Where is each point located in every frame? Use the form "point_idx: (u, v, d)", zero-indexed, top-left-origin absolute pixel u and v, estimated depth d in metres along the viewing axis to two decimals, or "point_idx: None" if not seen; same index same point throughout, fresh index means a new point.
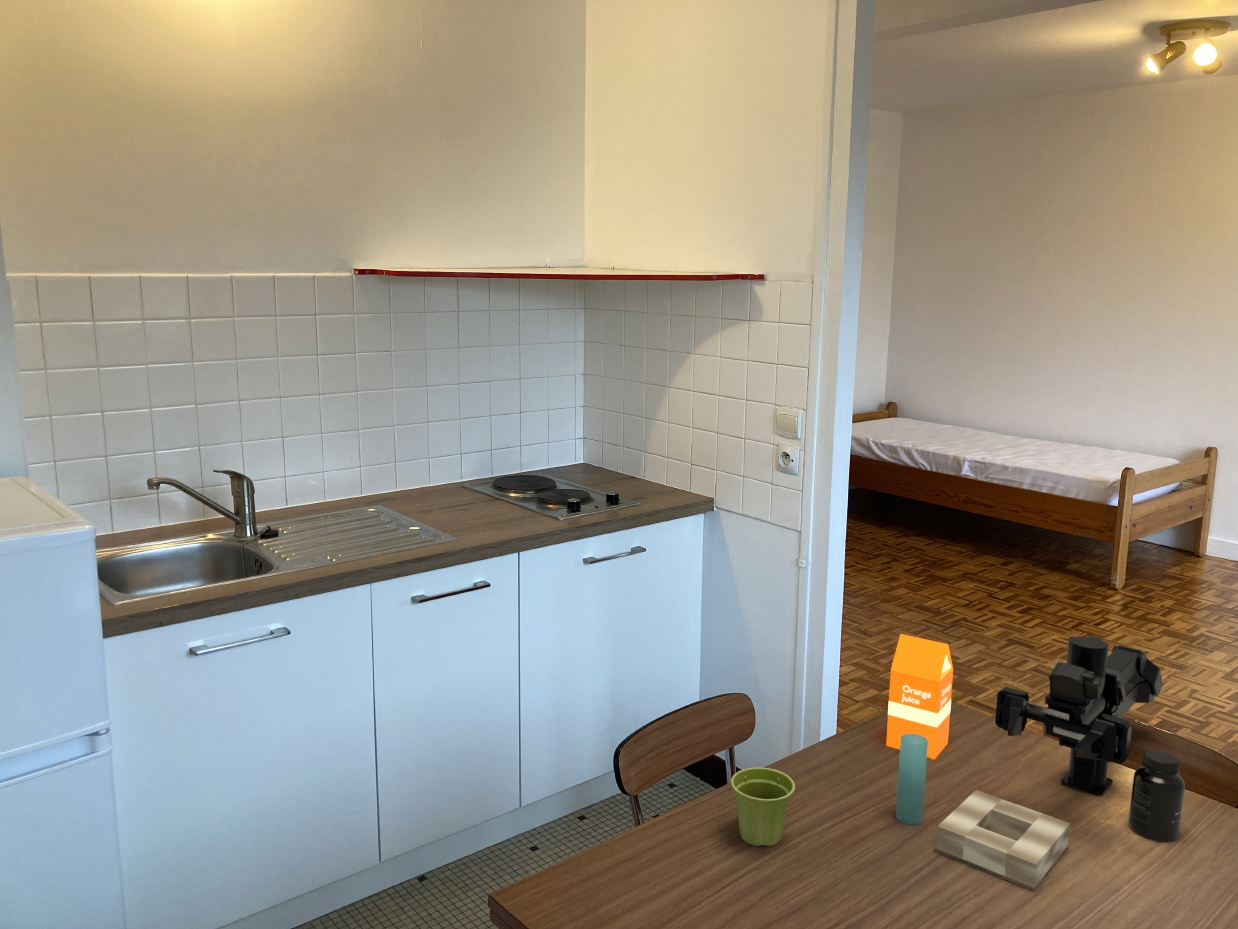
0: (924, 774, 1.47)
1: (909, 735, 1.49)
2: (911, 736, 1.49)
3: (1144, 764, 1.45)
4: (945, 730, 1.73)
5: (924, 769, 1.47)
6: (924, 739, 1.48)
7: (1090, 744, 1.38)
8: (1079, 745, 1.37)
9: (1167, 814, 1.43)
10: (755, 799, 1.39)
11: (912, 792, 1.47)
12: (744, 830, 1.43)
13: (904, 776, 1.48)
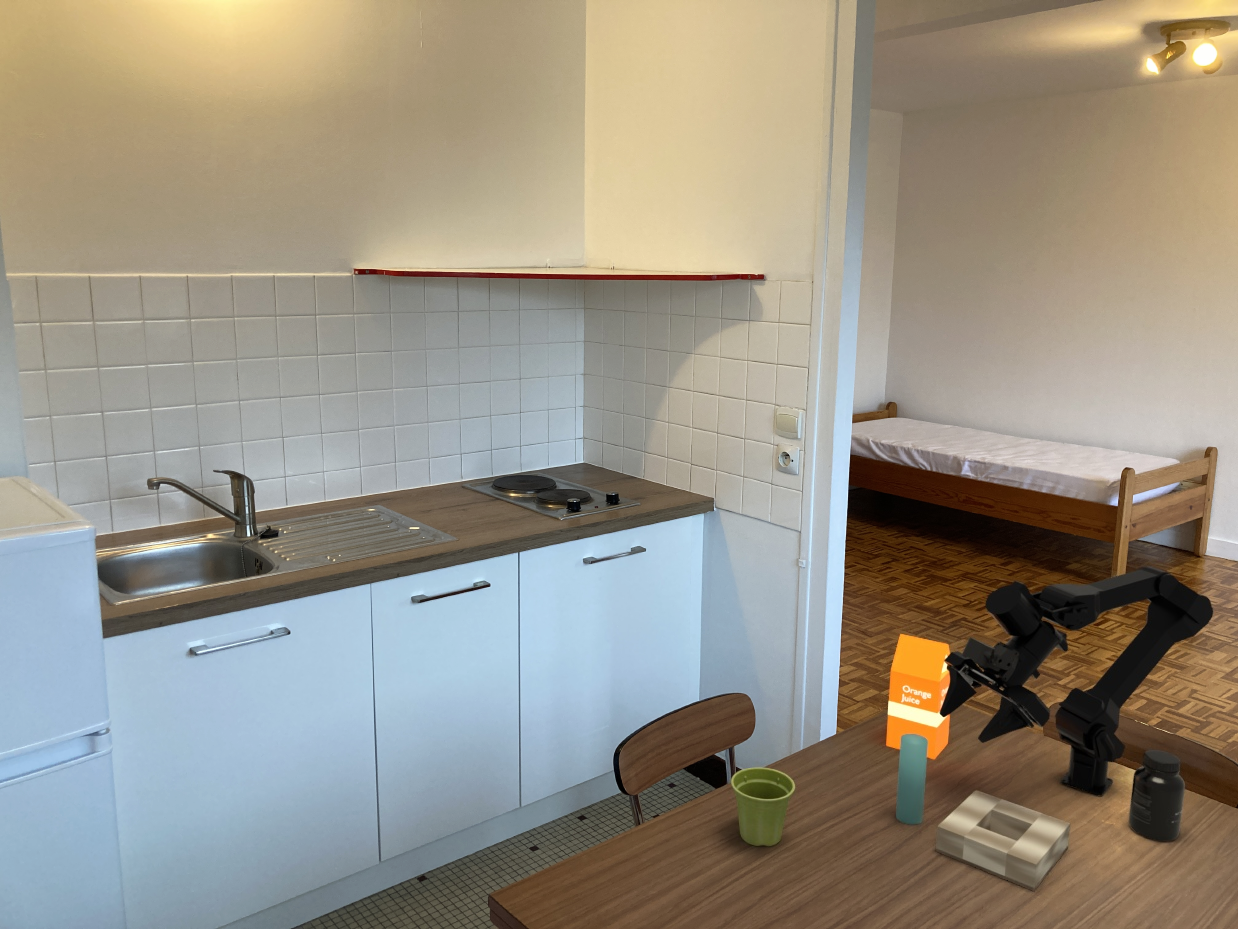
0: (924, 774, 1.47)
1: (909, 735, 1.49)
2: (911, 736, 1.49)
3: (1144, 764, 1.45)
4: (945, 730, 1.73)
5: (924, 769, 1.47)
6: (924, 739, 1.48)
7: (997, 725, 1.45)
8: (983, 732, 1.45)
9: (1167, 814, 1.43)
10: (755, 799, 1.39)
11: (912, 792, 1.47)
12: (744, 830, 1.43)
13: (904, 776, 1.48)
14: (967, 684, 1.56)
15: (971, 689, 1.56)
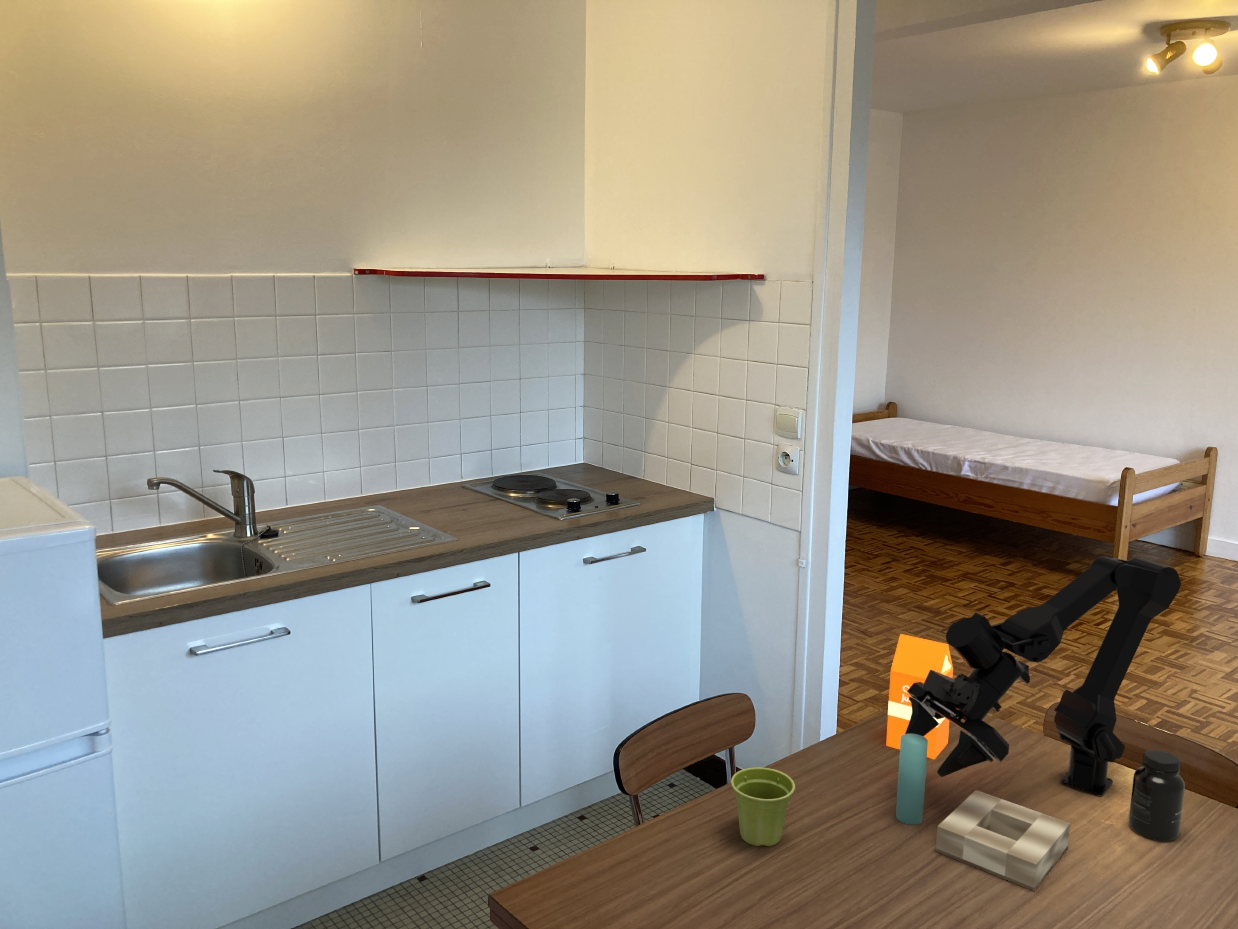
0: (924, 774, 1.47)
1: (909, 735, 1.49)
2: (911, 736, 1.49)
3: (1144, 764, 1.45)
4: (945, 730, 1.73)
5: (924, 769, 1.47)
6: (924, 739, 1.48)
7: (956, 760, 1.44)
8: (942, 766, 1.44)
9: (1167, 814, 1.43)
10: (755, 799, 1.39)
11: (912, 792, 1.47)
12: (744, 830, 1.43)
13: (904, 776, 1.48)
14: (929, 715, 1.54)
15: (933, 720, 1.55)
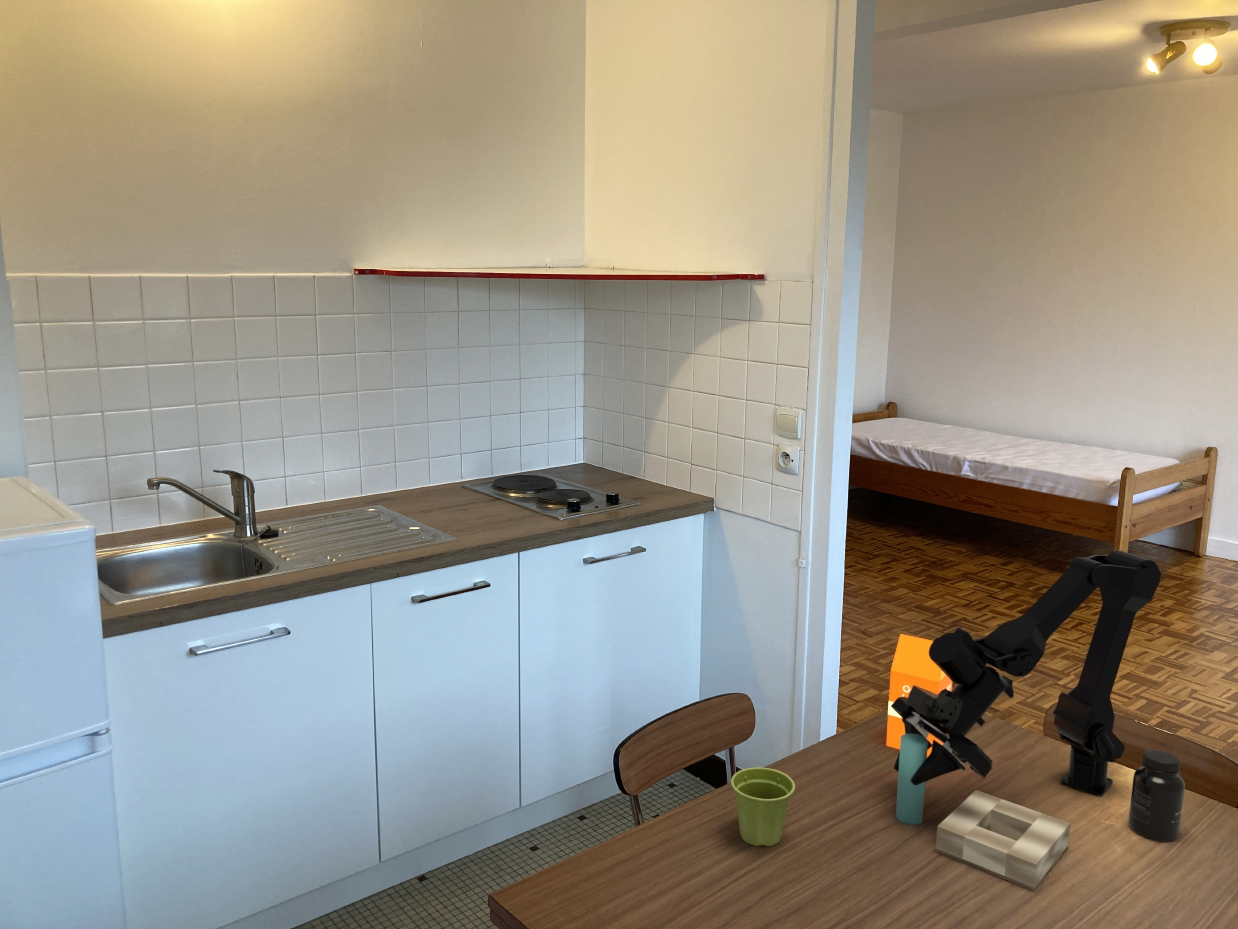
0: None
1: (909, 735, 1.49)
2: (911, 735, 1.49)
3: (1144, 764, 1.45)
4: None
5: None
6: (924, 739, 1.48)
7: (929, 768, 1.46)
8: (915, 775, 1.46)
9: (1167, 814, 1.43)
10: (755, 799, 1.39)
11: (912, 792, 1.47)
12: (743, 830, 1.43)
13: (904, 776, 1.48)
14: None
15: None
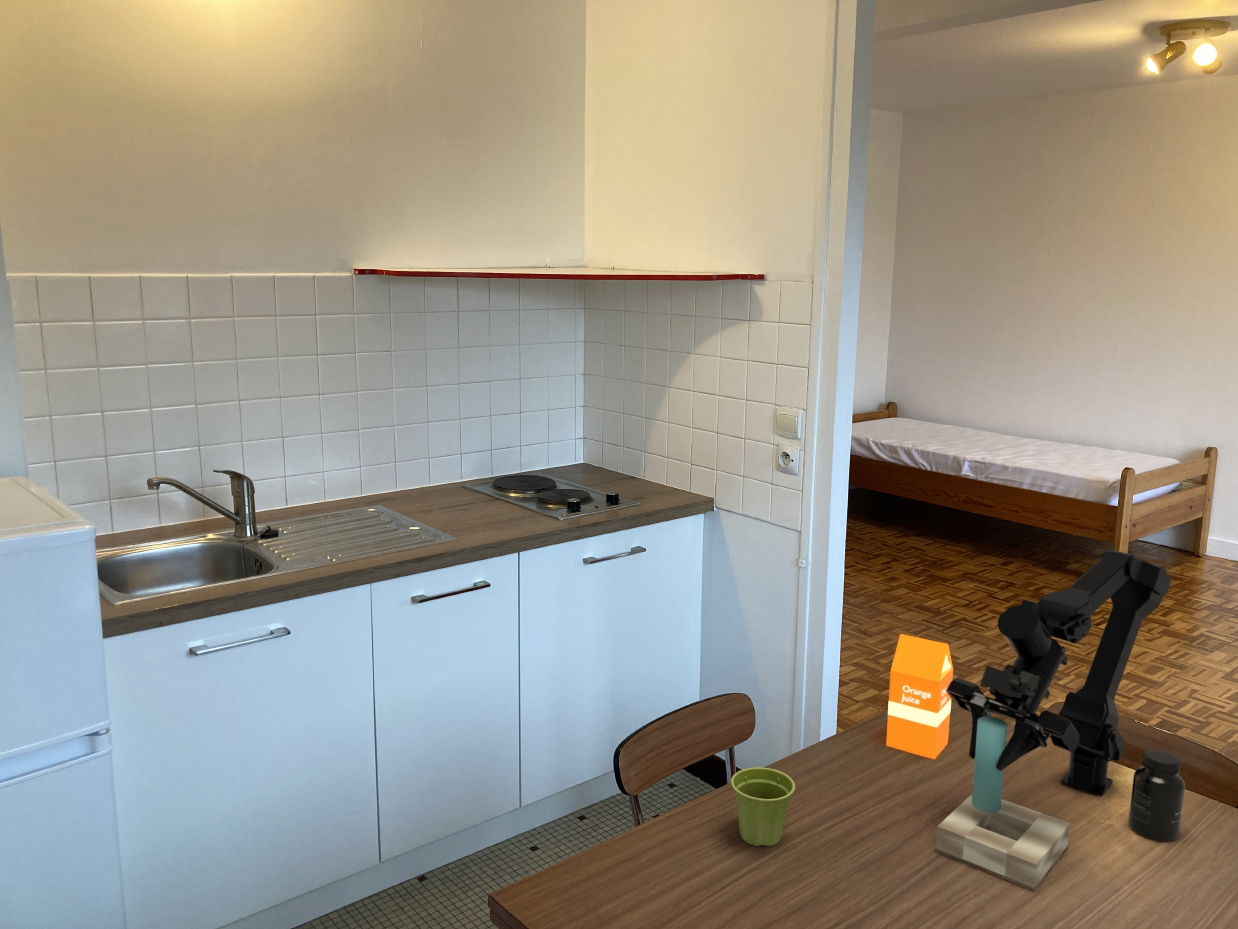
0: None
1: (984, 718, 1.41)
2: (986, 719, 1.41)
3: (1144, 764, 1.45)
4: (945, 730, 1.73)
5: None
6: (1001, 720, 1.40)
7: (1014, 751, 1.38)
8: (1001, 760, 1.38)
9: (1167, 814, 1.43)
10: (755, 799, 1.39)
11: (995, 778, 1.39)
12: (744, 830, 1.43)
13: (987, 763, 1.39)
14: None
15: None
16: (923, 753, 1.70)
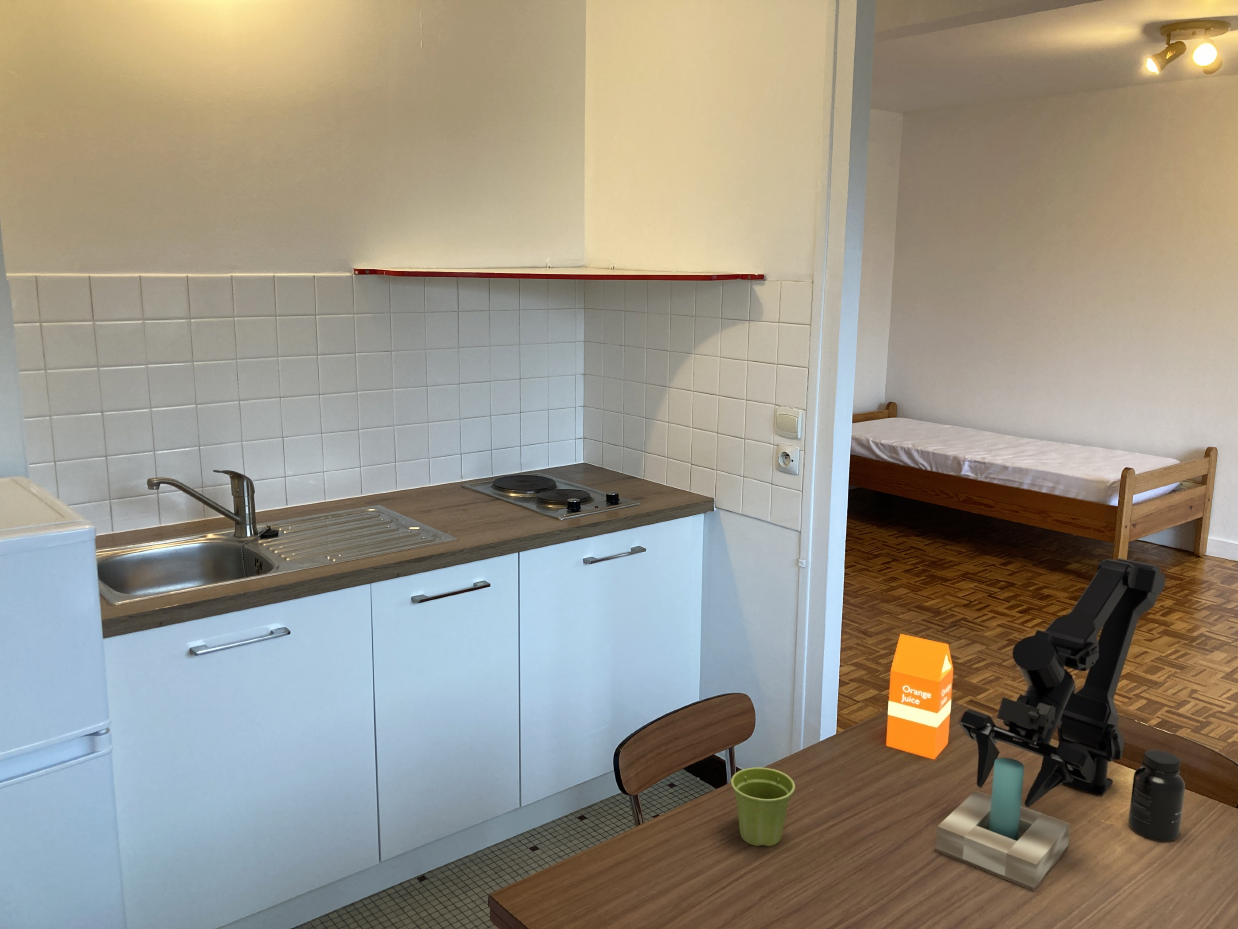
0: None
1: (1000, 760, 1.40)
2: (1002, 760, 1.40)
3: (1144, 764, 1.45)
4: (945, 730, 1.73)
5: (1021, 794, 1.39)
6: (1017, 762, 1.40)
7: (1042, 787, 1.37)
8: (1029, 796, 1.36)
9: (1167, 814, 1.43)
10: (755, 799, 1.39)
11: (1013, 820, 1.39)
12: (743, 830, 1.43)
13: (1005, 805, 1.38)
14: (994, 746, 1.45)
15: (996, 750, 1.45)
16: (923, 753, 1.70)
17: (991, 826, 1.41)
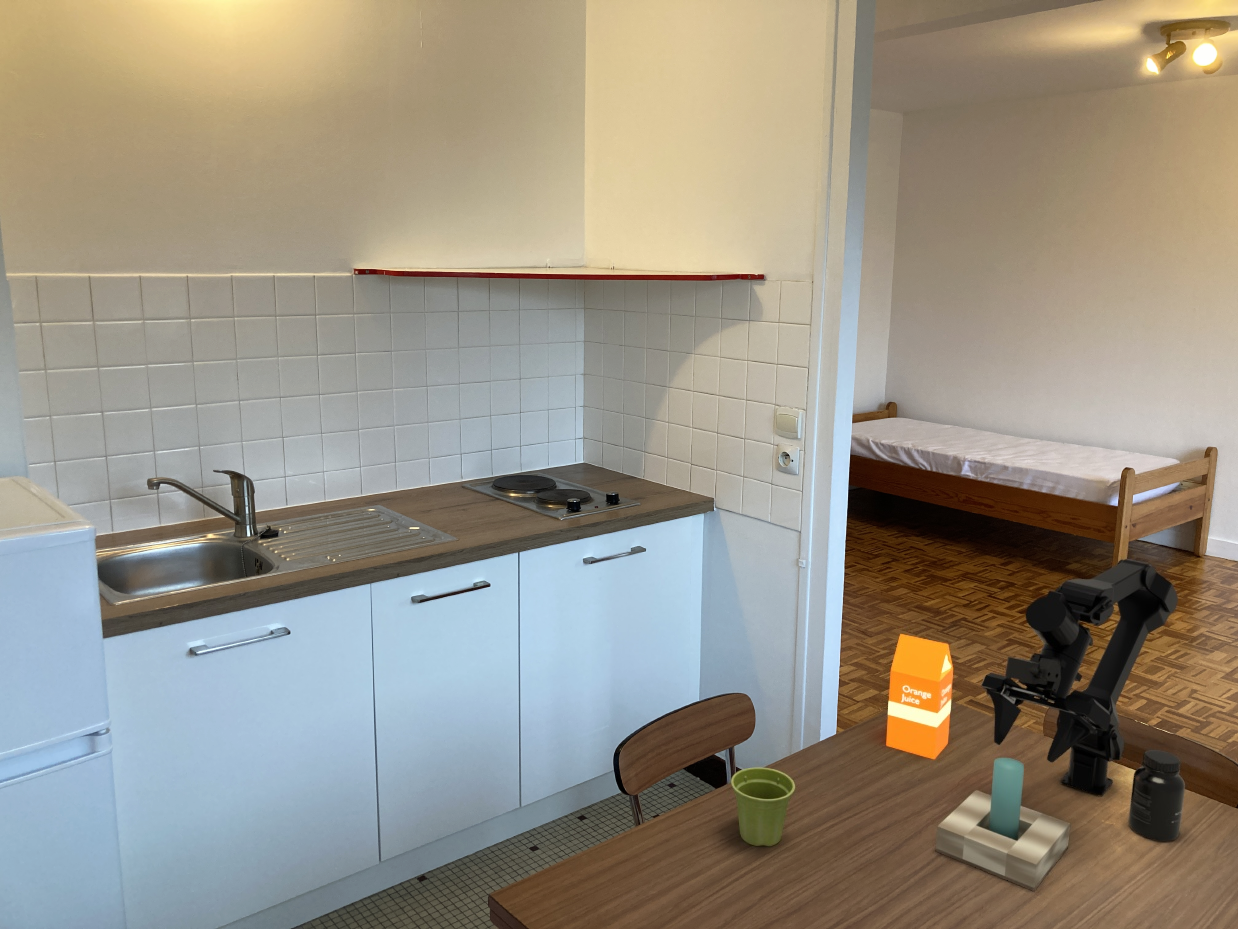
0: None
1: (1000, 760, 1.40)
2: (1002, 760, 1.40)
3: (1144, 764, 1.45)
4: (945, 730, 1.73)
5: (1021, 793, 1.39)
6: (1016, 762, 1.40)
7: (1062, 741, 1.39)
8: (1050, 752, 1.40)
9: (1167, 814, 1.43)
10: (755, 799, 1.39)
11: (1013, 820, 1.39)
12: (743, 830, 1.43)
13: (1004, 805, 1.38)
14: (1011, 704, 1.50)
15: (1016, 708, 1.50)
16: (923, 753, 1.70)
17: (991, 826, 1.41)
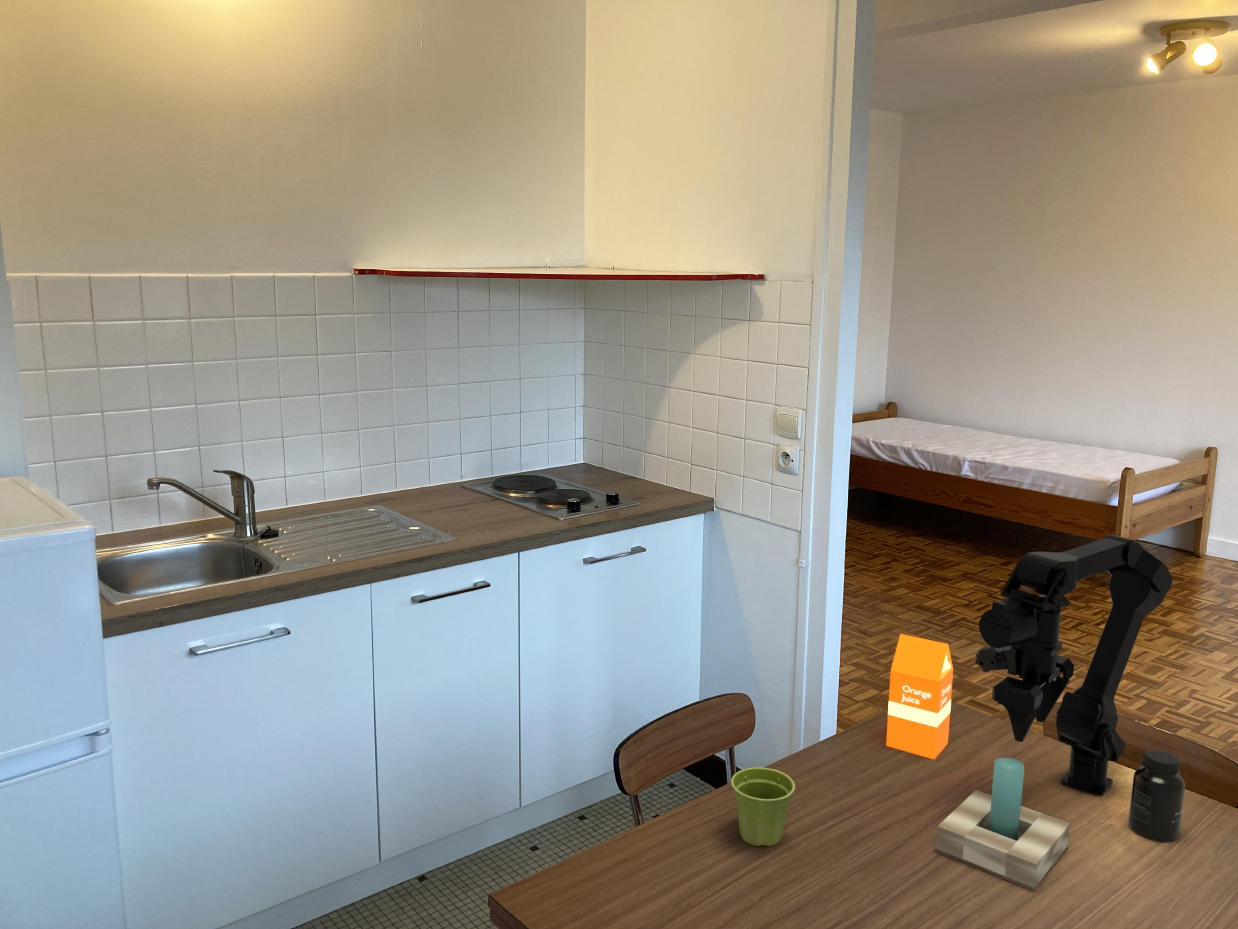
0: (1021, 798, 1.40)
1: (1000, 760, 1.40)
2: (1002, 760, 1.40)
3: (1144, 764, 1.45)
4: (945, 730, 1.73)
5: (1021, 793, 1.39)
6: (1017, 761, 1.40)
7: (1014, 722, 1.46)
8: None
9: (1167, 814, 1.43)
10: (755, 799, 1.39)
11: (1013, 820, 1.39)
12: (743, 830, 1.43)
13: (1005, 805, 1.38)
14: None
15: (1055, 684, 1.52)
16: (923, 753, 1.70)
17: (991, 826, 1.41)
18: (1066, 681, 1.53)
